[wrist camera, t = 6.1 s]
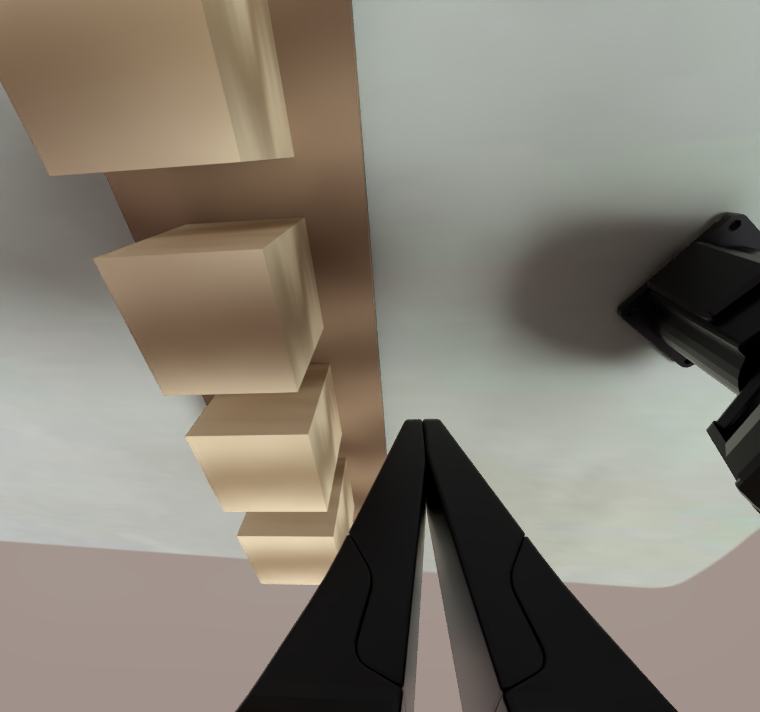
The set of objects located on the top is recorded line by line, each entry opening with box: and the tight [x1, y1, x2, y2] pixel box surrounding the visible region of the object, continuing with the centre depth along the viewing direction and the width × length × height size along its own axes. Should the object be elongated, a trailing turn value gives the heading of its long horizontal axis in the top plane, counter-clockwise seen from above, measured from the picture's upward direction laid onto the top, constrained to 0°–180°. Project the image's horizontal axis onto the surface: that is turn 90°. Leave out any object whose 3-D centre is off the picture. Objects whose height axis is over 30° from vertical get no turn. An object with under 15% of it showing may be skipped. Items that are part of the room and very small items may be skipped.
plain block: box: [185, 364, 342, 512], centre depth 20 cm, size 6×6×6 cm
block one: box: [0, 0, 294, 176], centre depth 11 cm, size 6×6×6 cm
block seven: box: [93, 217, 324, 396], centre depth 15 cm, size 6×6×6 cm
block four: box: [237, 458, 354, 585], centre depth 24 cm, size 6×6×6 cm
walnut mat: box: [105, 0, 387, 522], centre depth 21 cm, size 36×12×1 cm, turn 4°
